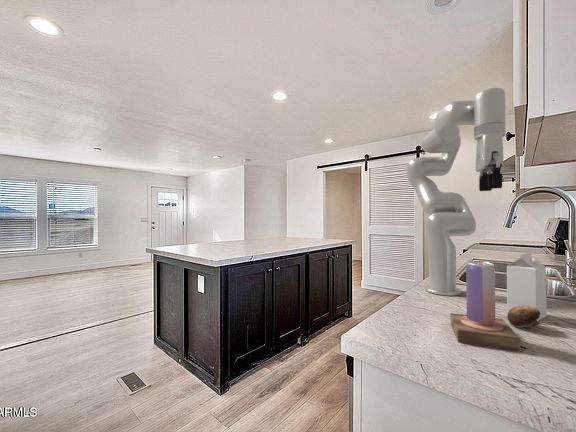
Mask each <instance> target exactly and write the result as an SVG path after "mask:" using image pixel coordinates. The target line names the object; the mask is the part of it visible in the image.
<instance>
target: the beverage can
mask: <svg viewBox="0 0 576 432" xmlns="http://www.w3.org/2000/svg"><path fill="white" fill-rule="evenodd" d="M465 267H466V269H465V270H466V275H465V276H466V278H465V279H466V281H465V282H466V284H465V286H466V290H465V291H466V315H467V318H468V320H469V321H470V322H472V323H474V324H478V325H483V326H491V325H493V324H494V323H495V318H496V269H495V264H494V263H491V262H486V261H472V260H471V261H467V262H466V266H465Z"/></svg>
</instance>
